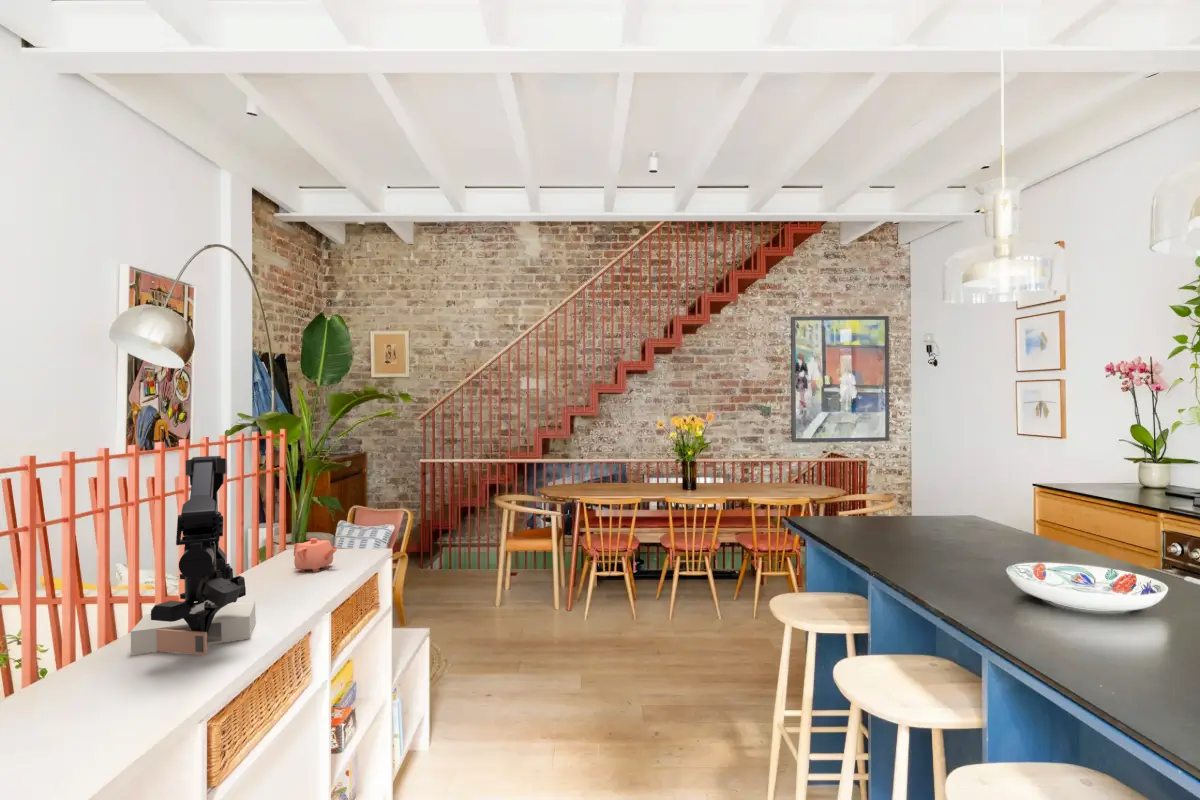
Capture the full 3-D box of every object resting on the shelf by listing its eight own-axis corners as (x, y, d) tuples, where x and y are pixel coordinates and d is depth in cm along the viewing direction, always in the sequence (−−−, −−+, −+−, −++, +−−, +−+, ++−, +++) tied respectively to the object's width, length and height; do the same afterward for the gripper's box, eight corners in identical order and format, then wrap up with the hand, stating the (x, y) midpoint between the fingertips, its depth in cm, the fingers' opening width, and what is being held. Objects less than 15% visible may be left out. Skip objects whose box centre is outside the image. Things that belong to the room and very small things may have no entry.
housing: (146, 636, 148) (145, 614, 148) (255, 622, 157) (255, 601, 157) (131, 655, 137) (130, 631, 137) (249, 638, 145) (249, 616, 145)
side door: (159, 650, 139) (158, 628, 139) (207, 653, 136) (206, 632, 136) (155, 651, 138) (155, 630, 138) (203, 655, 135) (203, 633, 135)
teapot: (337, 570, 205) (337, 539, 205) (295, 575, 199) (295, 544, 199) (333, 562, 215) (332, 533, 215) (293, 567, 209) (292, 537, 209)
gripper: (192, 581, 128) (194, 661, 127) (265, 558, 146) (266, 629, 145) (147, 578, 131) (149, 656, 130) (224, 556, 149) (225, 625, 148)
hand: (201, 641), depth 139 cm, fingers closed
